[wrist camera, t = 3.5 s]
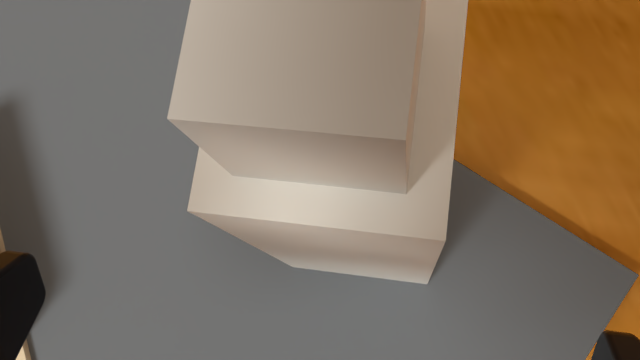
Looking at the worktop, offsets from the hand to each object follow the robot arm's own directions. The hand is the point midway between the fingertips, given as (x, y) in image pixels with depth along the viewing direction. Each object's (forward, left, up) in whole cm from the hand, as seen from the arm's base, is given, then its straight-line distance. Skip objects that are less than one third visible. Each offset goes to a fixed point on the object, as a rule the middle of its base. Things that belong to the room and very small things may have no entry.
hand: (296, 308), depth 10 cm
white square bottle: (+2, -3, -10) cm, 11 cm away
